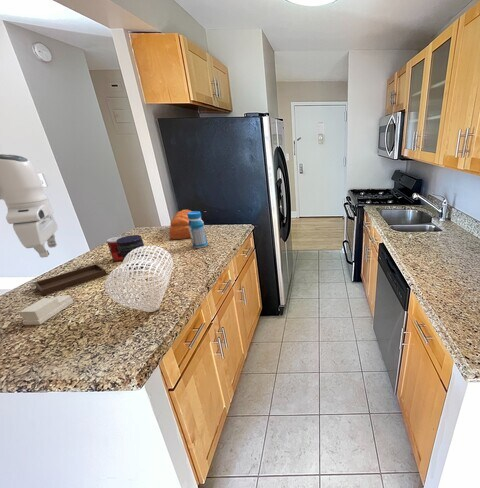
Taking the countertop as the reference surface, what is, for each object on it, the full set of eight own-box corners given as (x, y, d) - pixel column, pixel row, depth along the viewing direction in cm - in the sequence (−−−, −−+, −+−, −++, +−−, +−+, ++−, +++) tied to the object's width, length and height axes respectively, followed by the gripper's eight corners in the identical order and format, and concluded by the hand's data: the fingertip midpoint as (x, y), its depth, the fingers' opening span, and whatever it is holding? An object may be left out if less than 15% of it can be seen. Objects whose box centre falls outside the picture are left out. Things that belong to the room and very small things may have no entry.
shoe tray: (43, 296, 104) (40, 290, 103) (36, 287, 110) (34, 282, 109) (107, 274, 120) (105, 269, 119) (98, 268, 126) (96, 263, 125)
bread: (200, 223, 192) (197, 206, 187) (196, 237, 164) (192, 217, 159) (177, 225, 187) (173, 208, 182) (168, 240, 160) (163, 220, 155)
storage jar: (144, 260, 133) (136, 233, 128) (153, 265, 128) (145, 237, 122) (122, 268, 126) (112, 239, 120) (130, 273, 121) (120, 244, 115)
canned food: (119, 255, 139) (112, 236, 135) (134, 254, 140) (128, 235, 136) (109, 261, 132) (102, 241, 128) (126, 261, 133) (119, 241, 129)
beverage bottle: (200, 249, 147) (194, 215, 140) (189, 247, 150) (181, 213, 142) (211, 243, 155) (205, 211, 147) (200, 242, 157) (193, 210, 150)
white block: (40, 324, 88) (33, 312, 86) (23, 324, 88) (17, 312, 86) (74, 302, 100) (69, 291, 98) (59, 302, 100) (54, 291, 98)
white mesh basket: (170, 330, 85) (152, 270, 76) (113, 341, 80) (88, 278, 72) (184, 287, 109) (172, 238, 101) (141, 293, 105) (125, 243, 96)
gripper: (28, 204, 86) (45, 243, 91) (3, 219, 70) (25, 265, 75) (54, 202, 89) (69, 239, 94) (35, 216, 73) (54, 260, 79)
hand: (49, 251), depth 85 cm, fingers open, 8 cm apart
